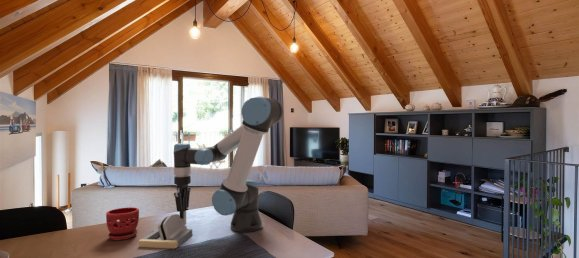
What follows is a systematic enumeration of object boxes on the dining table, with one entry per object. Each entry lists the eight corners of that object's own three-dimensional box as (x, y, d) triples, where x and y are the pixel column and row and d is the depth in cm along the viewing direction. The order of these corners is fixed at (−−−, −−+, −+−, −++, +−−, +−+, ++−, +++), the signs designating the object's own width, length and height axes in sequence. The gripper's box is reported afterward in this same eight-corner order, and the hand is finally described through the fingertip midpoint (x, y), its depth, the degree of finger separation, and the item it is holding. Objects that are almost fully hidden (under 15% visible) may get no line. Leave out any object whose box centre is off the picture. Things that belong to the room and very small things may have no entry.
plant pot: (144, 236, 144) (143, 209, 144) (112, 244, 134) (112, 216, 134) (132, 229, 153) (132, 204, 153) (102, 236, 143) (101, 210, 143)
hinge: (173, 242, 136) (165, 220, 136) (163, 245, 136) (154, 223, 136) (187, 229, 152) (180, 209, 152) (178, 232, 153) (171, 212, 153)
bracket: (192, 234, 146) (192, 229, 145) (175, 248, 130) (175, 242, 130) (159, 233, 147) (159, 227, 147) (138, 246, 132) (138, 240, 131)
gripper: (181, 173, 160) (181, 219, 161) (168, 177, 148) (168, 228, 148) (195, 173, 159) (196, 220, 160) (183, 178, 147) (184, 229, 147)
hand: (183, 224), depth 154 cm, fingers closed
